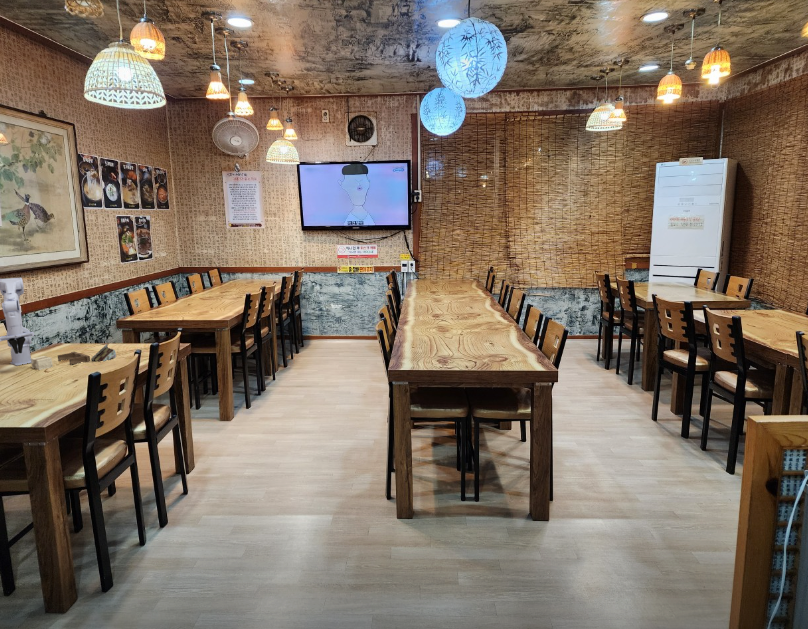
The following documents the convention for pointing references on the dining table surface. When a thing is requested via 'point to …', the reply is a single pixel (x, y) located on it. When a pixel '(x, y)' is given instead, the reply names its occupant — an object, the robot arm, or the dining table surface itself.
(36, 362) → the maple block
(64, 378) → the dining table surface
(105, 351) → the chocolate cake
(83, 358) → the walnut stop
